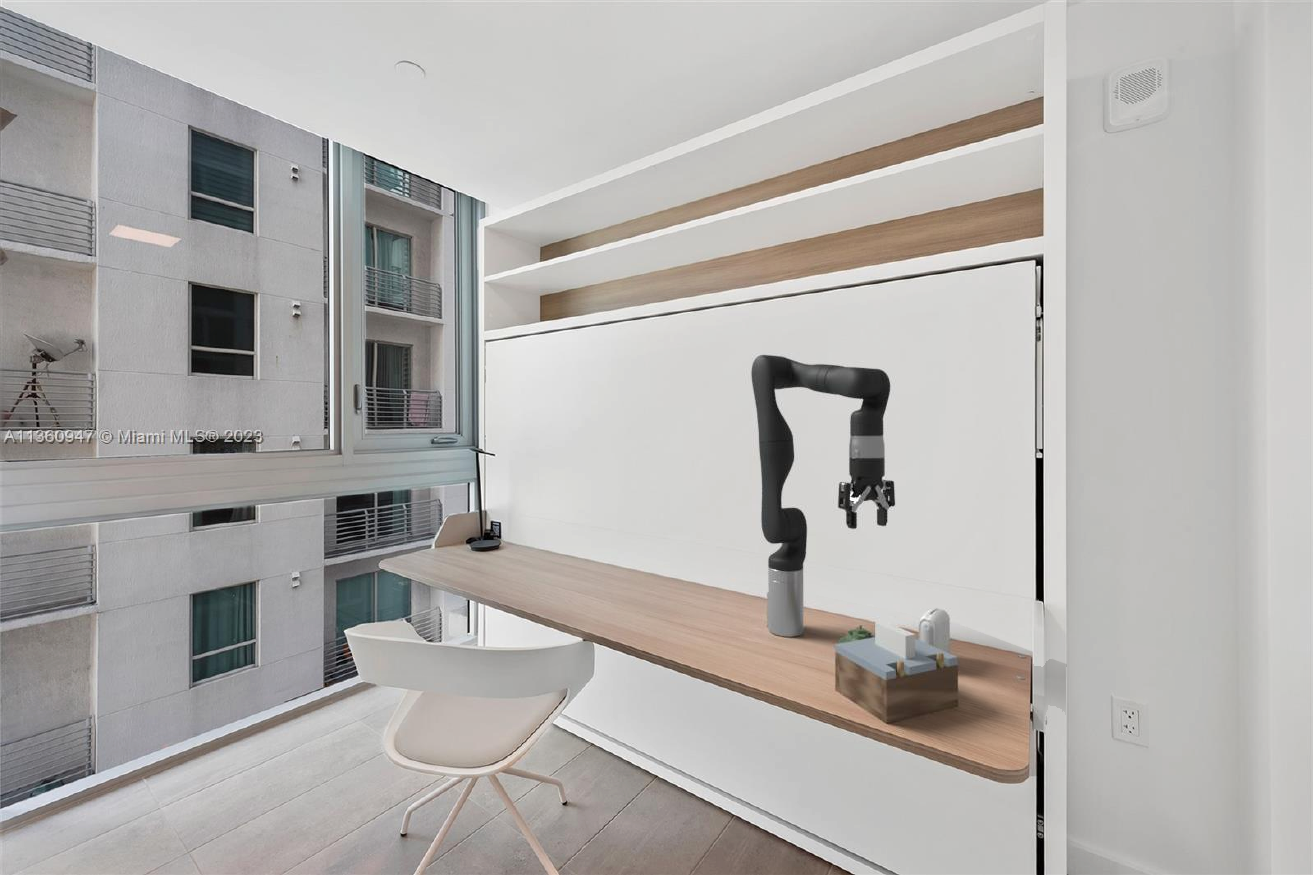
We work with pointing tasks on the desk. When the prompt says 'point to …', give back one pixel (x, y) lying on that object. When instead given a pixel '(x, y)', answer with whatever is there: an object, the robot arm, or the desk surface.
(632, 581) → the desk surface
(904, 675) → the wooden box with compartments
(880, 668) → the notched blue lid
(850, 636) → the decorative artifact
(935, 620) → the photo printer
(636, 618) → the desk surface
